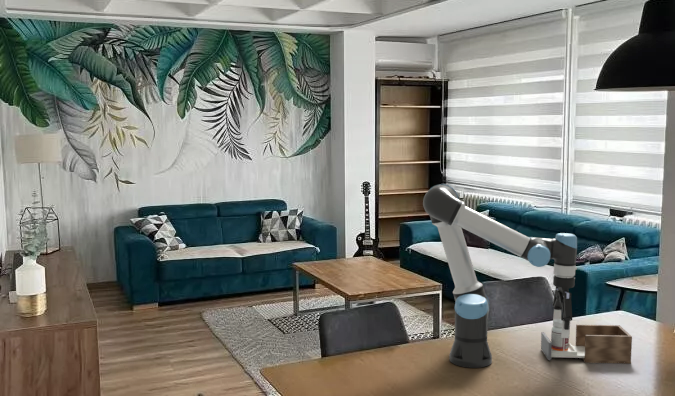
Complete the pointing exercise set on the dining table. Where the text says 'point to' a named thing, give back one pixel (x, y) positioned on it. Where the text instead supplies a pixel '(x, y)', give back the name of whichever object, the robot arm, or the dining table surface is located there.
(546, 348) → the tray
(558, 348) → the pill bottle
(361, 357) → the dining table surface
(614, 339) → the wooden box
